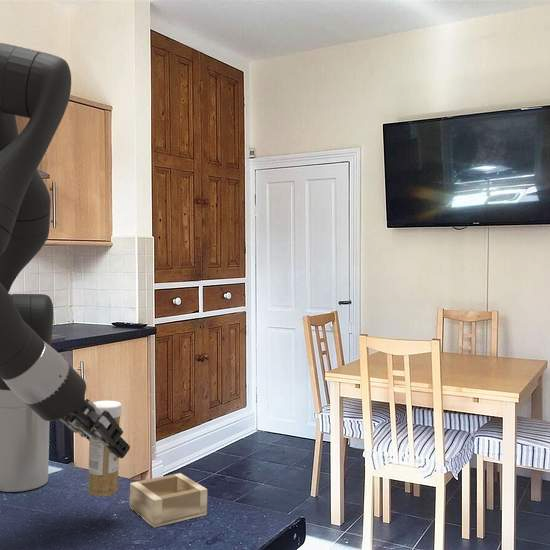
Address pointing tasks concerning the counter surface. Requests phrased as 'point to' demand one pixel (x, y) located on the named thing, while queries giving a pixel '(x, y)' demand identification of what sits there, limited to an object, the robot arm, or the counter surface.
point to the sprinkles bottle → (103, 458)
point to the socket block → (168, 499)
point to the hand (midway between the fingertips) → (114, 448)
